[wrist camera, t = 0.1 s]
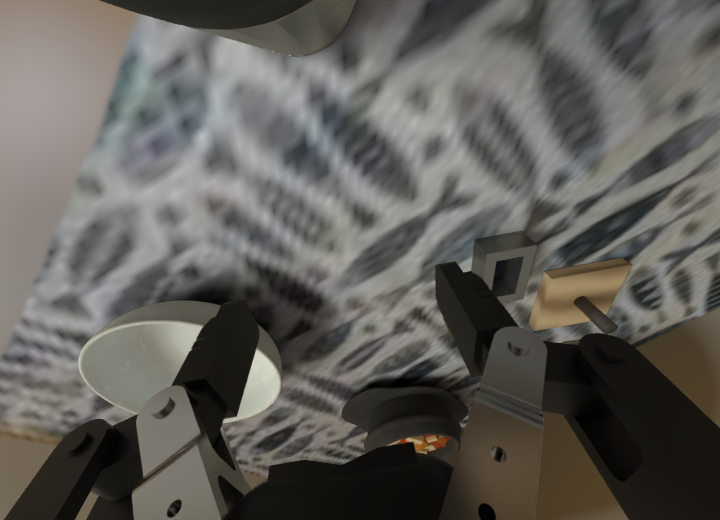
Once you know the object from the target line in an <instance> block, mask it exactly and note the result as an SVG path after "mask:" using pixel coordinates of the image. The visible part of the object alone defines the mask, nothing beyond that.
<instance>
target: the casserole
mask: <svg viewBox="0 0 720 520" xmlns="http://www.w3.org/2000/svg"><path fill="white" fill-rule="evenodd" d="M468 411H469V410H468V407H466V406H465V405H463V404H462V403H460V402H458V401H457V399H456V398H455V397H454V396H453V395H452V394H451V393H449V392H448V391H446V390H443V389H441V388H437V387H431V386H407V387H396V388H393V387H374V388H370V389H367V390H365V391H363V392H360V393H359V394H357V395H356V396H354V397H353V398H351V399H350V400H349V401H348V402H347V403H346V405H345V406H344V407H343V410H342V417H343V419H344V420H345V421H347V422H350V423H352V424H355V425H357V426H359V427H361V428H362V429H364V430H365V431H367V432H368V436H367V437H366V439H365V441H364V447H365V450H366V451H367V452H370V451H372V450H374V449H376V448H378V447H383V446H389V445H395V444H401V443H407V442H413V441H414V446H415V450H416V452H419V453H425V454H428V455H432V456H434V457H437V458H439V459H441V460H443V461H445V460H446V459H448V458H450V457H451V456H453V455H454V454H455V453H456V452H457V451H458V450H459V448H460V435H461V432H462V428H461V426H460V424H459V423H460V422H461V421H462V420H463V419H464V418H465V417H466V415H467V413H468Z"/></svg>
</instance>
